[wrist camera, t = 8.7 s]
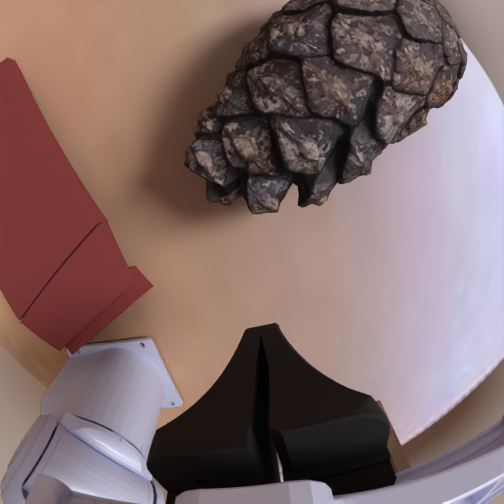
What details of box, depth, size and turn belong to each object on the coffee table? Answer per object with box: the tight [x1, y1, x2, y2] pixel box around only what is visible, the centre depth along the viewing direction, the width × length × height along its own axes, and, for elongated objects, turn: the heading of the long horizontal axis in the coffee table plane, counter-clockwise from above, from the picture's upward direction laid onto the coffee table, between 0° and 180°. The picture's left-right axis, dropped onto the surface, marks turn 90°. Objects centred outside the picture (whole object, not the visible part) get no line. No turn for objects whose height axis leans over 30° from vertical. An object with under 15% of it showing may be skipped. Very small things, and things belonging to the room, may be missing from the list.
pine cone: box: [184, 0, 467, 214], centre depth 13 cm, size 10×18×10 cm, turn 144°
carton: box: [0, 58, 153, 355], centre depth 19 cm, size 12×5×25 cm
